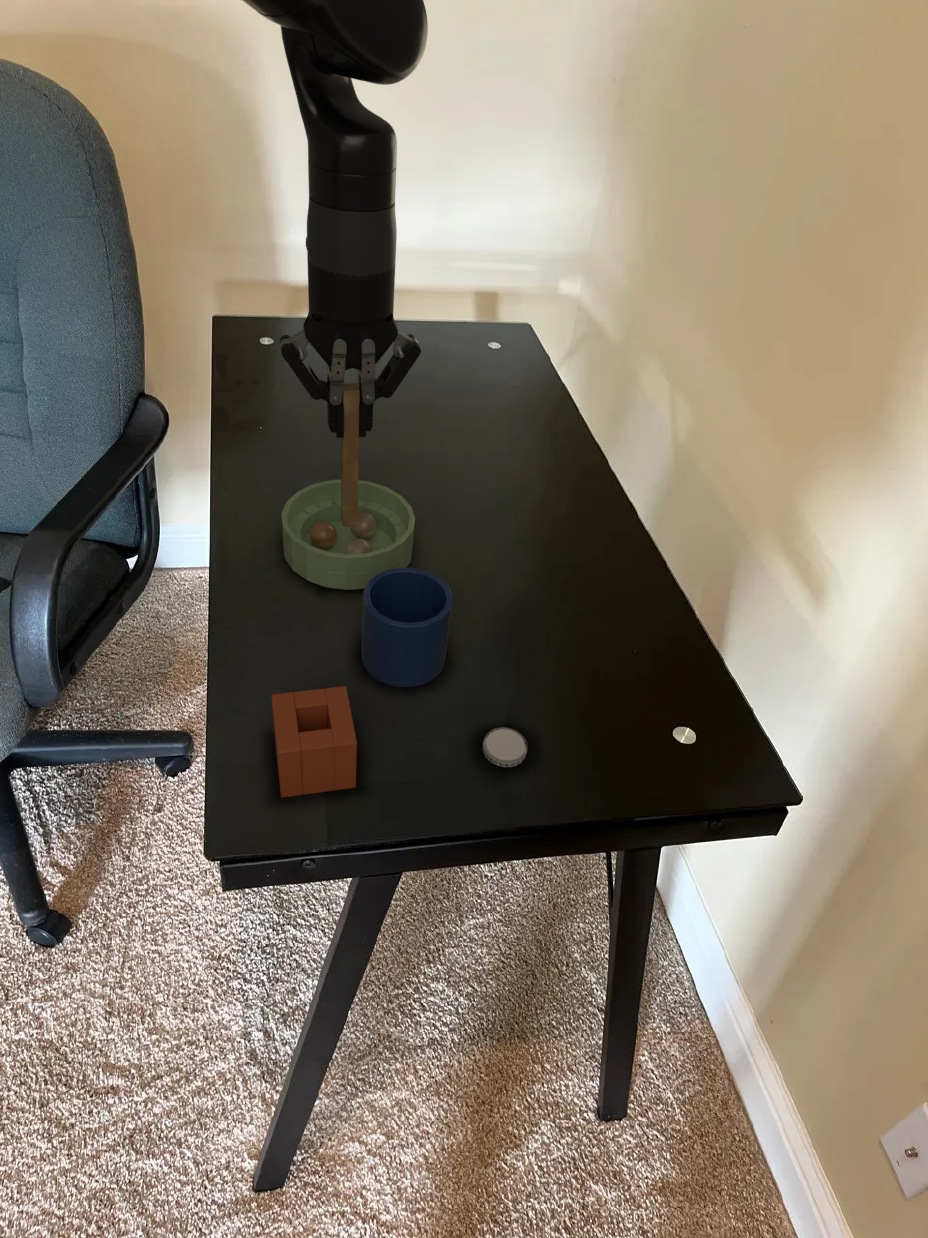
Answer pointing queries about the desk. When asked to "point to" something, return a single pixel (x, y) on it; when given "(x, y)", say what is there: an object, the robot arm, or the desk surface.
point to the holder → (314, 741)
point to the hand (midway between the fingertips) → (350, 432)
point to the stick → (350, 455)
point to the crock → (405, 626)
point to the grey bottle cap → (505, 747)
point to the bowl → (346, 534)
